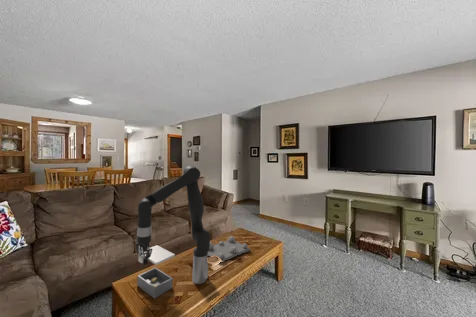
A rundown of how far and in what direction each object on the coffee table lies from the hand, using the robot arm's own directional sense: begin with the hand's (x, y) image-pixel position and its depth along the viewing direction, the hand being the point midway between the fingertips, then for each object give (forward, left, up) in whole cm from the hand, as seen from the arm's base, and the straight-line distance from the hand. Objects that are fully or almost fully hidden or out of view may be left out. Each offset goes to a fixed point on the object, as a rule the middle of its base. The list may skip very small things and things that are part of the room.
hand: (143, 263), depth 117 cm
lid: (-6, 0, 0) cm, 6 cm away
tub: (-8, 0, -18) cm, 20 cm away
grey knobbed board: (-71, +6, -19) cm, 74 cm away
